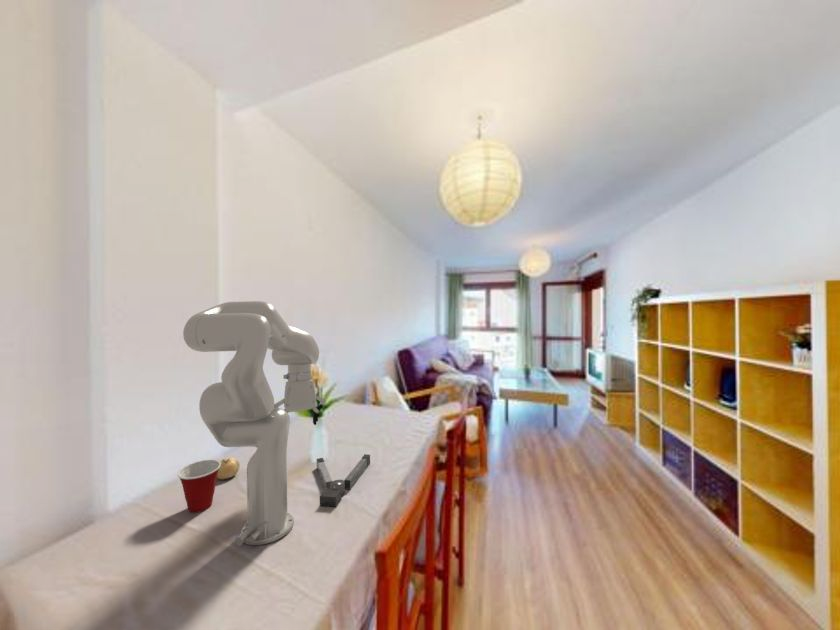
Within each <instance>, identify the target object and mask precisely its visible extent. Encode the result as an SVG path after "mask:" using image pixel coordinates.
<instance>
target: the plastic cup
mask: <svg viewBox="0 0 840 630" xmlns="http://www.w3.org/2000/svg"><path fill="white" fill-rule="evenodd" d="M220 461H221V460H220ZM220 461H219V460H218V459H203V460H199V461H195V462H192V463H189V464H186V465H185V466H183V467H181V468H180V469H179V470H178V471H177V477H178V478H179V480H180V482H181V483H180V484H181V485H182V489H183V494H184V498H185V499H184V500H185V501H186V504H187V505H186V507H187V509H188V512H190V513H193V514H194V513H201V512H203V511H206V510H207V509H210V508H211V506H212V503H213V500H214V494H215V491H216V485H217V479H218V478H217V475H218V471H219V468H220V466H221V462H220Z"/></svg>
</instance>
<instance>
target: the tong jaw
mask: <svg viewBox="0 0 840 630" xmlns="http://www.w3.org/2000/svg"><path fill="white" fill-rule="evenodd" d="M316 470H317V472H318V475H319V476H320V479H321V483H322V485H323V488H324V491H325V490H326V489H329V490H341V498H342V497H344V496H345V494H346V490H345V482H344V480H345V479H335V480H333V479H332V477H331V475H330V472H329V470H328V468H327V465H326V463H325V459H324V458H323V457H319V458H316Z"/></svg>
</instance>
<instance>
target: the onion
mask: <svg viewBox="0 0 840 630" xmlns="http://www.w3.org/2000/svg"><path fill="white" fill-rule="evenodd" d="M220 462H221V466H220V468H219V471H218V475H217V479H219V480H227V479H230V478H233V477H235V476H236V475H237V473H239V470H240V466H241V465H240V462H239V460H238V459H236V458H234V457H226V458H222V459H221V460H220Z"/></svg>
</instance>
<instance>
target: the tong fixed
mask: <svg viewBox="0 0 840 630" xmlns="http://www.w3.org/2000/svg"><path fill="white" fill-rule="evenodd" d="M370 465H371V454H366V453H365V454H363V455H362V457H361V459H360V460H359V461H358V462H357V464H356V465H355V466H354V467H353V469H352V470H351V471H350V472H349V473H348V475H347V476H346V477H345V478H344V479H343V480H344V482H345V491H351V490H352V489H353V488H354V486H355V484H357V482H358V481H359V480H360V478H361V477H362V476H363V474H364V472H365V471H366V470H367V468H369V466H370ZM341 501H342V497H341V490H329V489H326V490H325V489H324V490H323V492H322V493H321V494H319V507H322V508H335V509H336V508H337V507H338V505H339V504H340V503H341Z"/></svg>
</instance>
